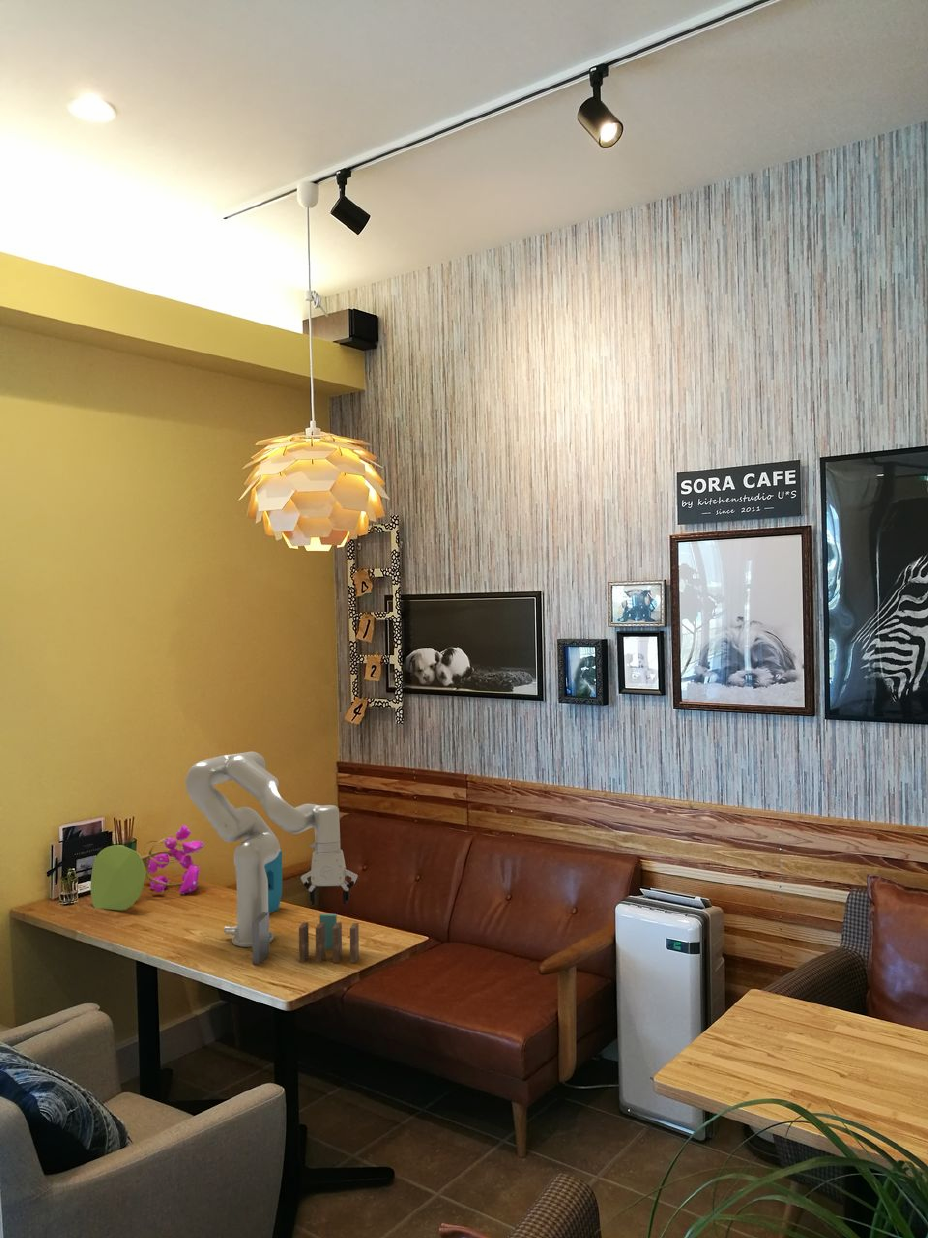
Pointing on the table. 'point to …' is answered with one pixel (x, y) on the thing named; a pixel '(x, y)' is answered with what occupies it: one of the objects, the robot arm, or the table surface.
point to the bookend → (260, 937)
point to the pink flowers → (139, 871)
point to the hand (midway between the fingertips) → (330, 903)
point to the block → (274, 882)
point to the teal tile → (328, 928)
